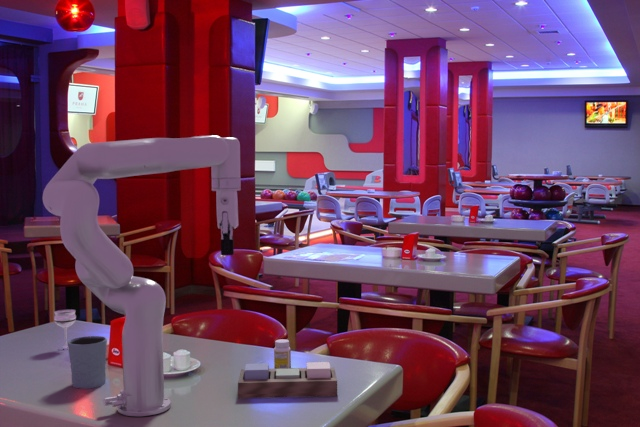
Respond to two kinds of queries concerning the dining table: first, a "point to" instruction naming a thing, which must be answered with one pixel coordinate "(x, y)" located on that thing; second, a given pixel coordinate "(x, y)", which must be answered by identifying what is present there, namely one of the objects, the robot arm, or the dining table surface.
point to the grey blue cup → (88, 361)
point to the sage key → (287, 373)
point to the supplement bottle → (282, 354)
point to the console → (287, 386)
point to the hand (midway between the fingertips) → (227, 254)
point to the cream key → (318, 370)
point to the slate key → (257, 371)
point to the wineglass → (65, 320)
